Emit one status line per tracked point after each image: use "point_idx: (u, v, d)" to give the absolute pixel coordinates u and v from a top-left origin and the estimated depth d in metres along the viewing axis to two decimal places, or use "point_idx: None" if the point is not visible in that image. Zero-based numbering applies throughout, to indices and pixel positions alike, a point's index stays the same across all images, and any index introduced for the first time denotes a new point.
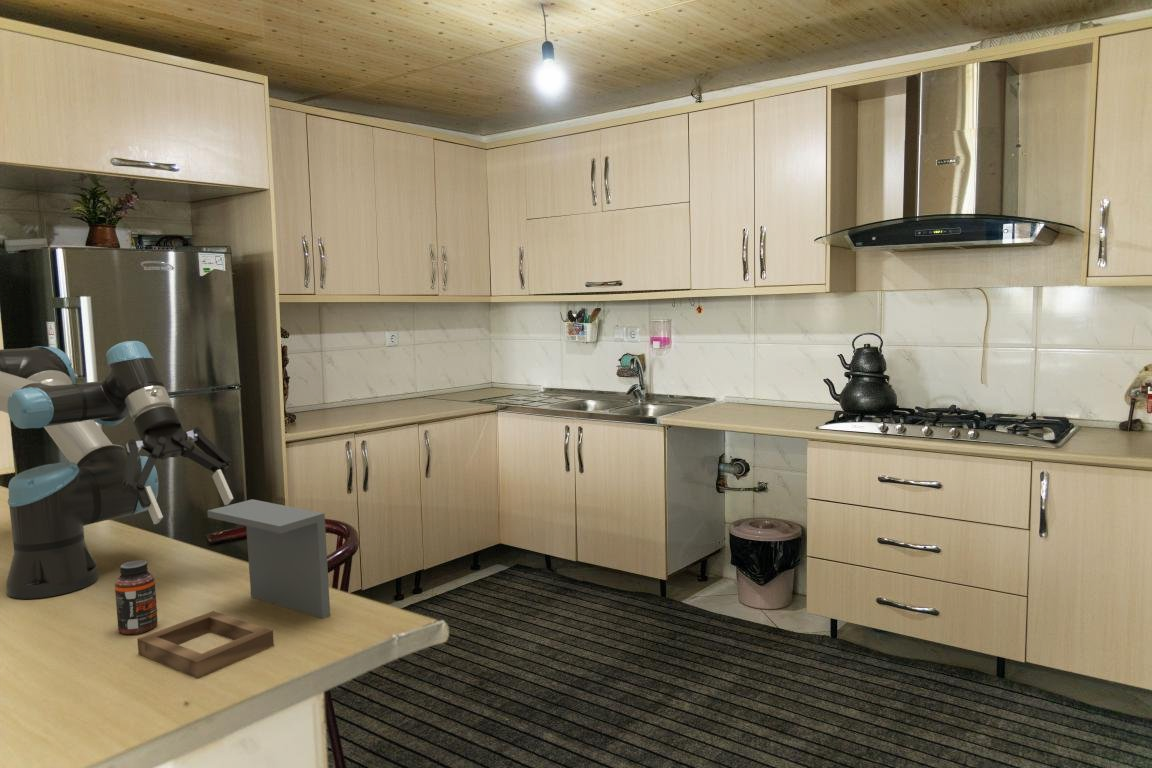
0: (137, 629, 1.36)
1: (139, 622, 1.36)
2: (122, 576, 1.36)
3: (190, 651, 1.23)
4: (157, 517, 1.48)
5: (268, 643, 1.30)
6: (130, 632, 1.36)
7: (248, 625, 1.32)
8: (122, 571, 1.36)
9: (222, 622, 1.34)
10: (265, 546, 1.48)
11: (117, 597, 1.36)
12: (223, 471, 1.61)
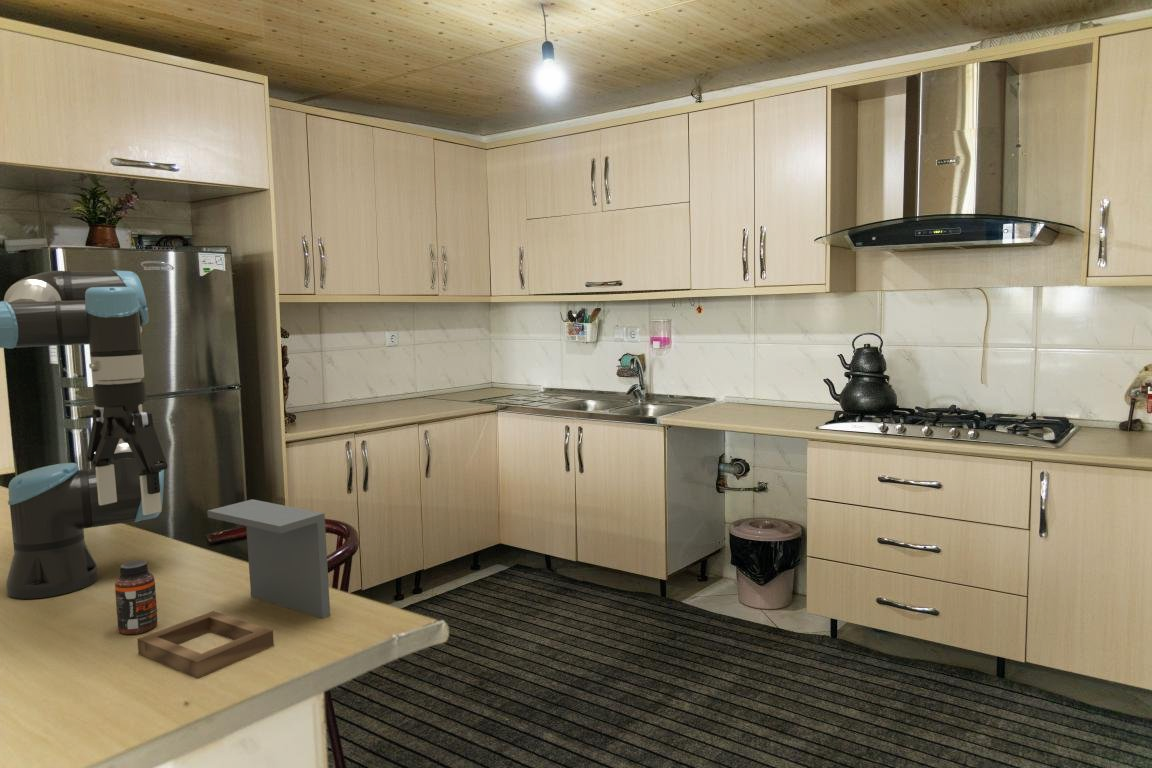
0: (137, 629, 1.36)
1: (139, 622, 1.36)
2: (122, 576, 1.36)
3: (190, 651, 1.23)
4: None
5: (268, 643, 1.30)
6: (130, 632, 1.36)
7: (248, 625, 1.32)
8: (122, 571, 1.36)
9: (222, 622, 1.34)
10: (265, 546, 1.48)
11: (117, 597, 1.36)
12: (148, 477, 1.31)
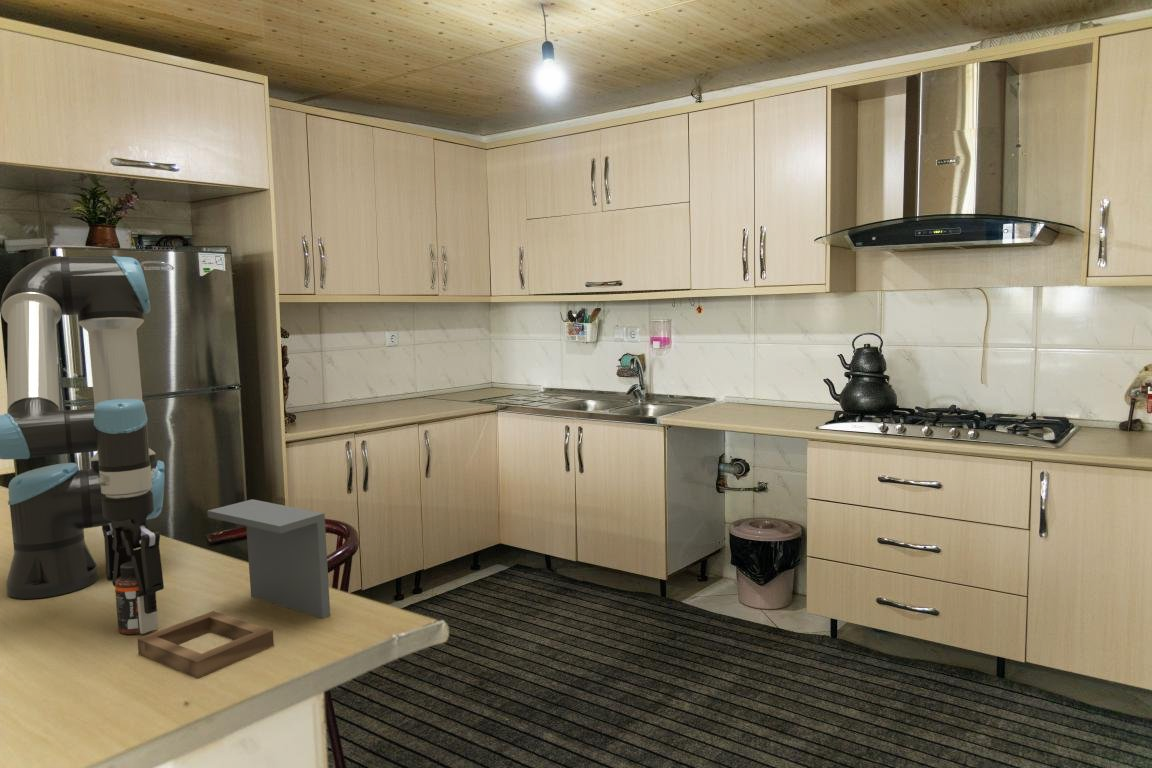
0: (137, 629, 1.36)
1: None
2: (122, 576, 1.36)
3: (190, 651, 1.23)
4: None
5: (268, 643, 1.30)
6: (130, 632, 1.36)
7: (248, 625, 1.32)
8: (123, 571, 1.36)
9: (222, 622, 1.34)
10: (265, 546, 1.48)
11: (117, 597, 1.36)
12: (145, 597, 1.35)
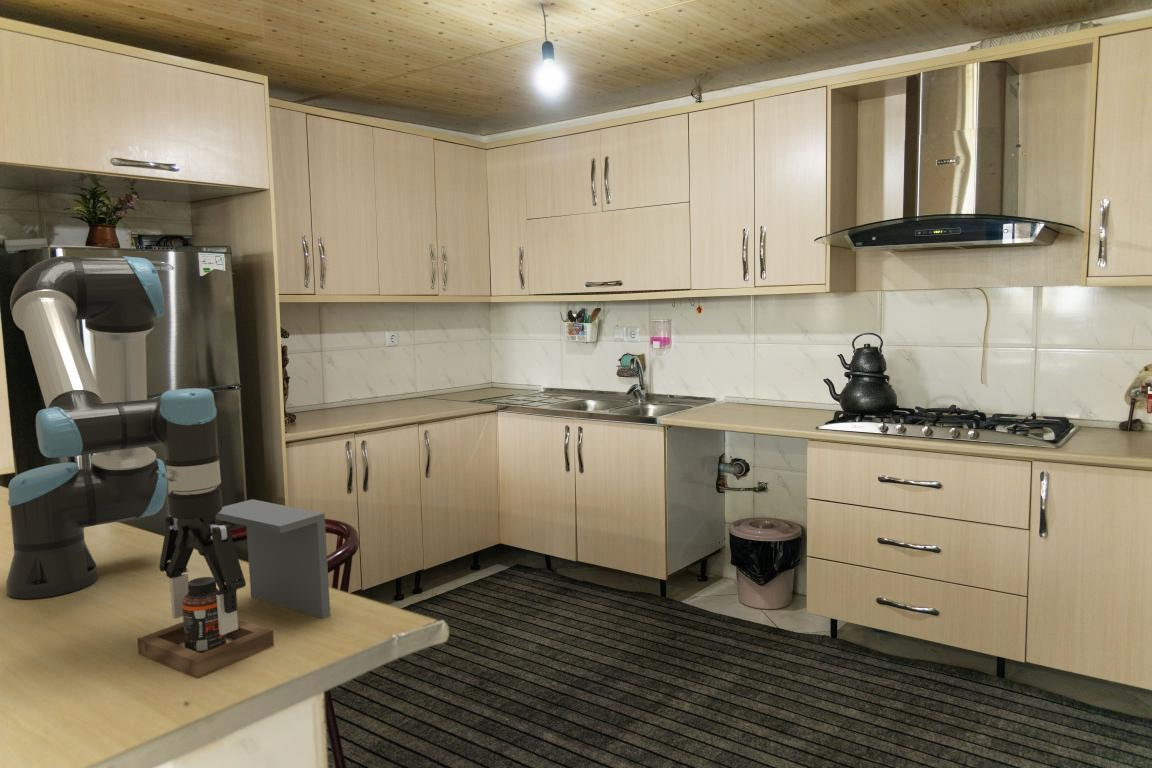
0: (206, 651, 1.27)
1: (208, 643, 1.27)
2: (190, 594, 1.27)
3: (190, 651, 1.23)
4: None
5: (268, 643, 1.30)
6: None
7: (248, 625, 1.32)
8: (191, 588, 1.27)
9: None
10: (265, 546, 1.48)
11: (185, 616, 1.27)
12: (226, 595, 1.24)
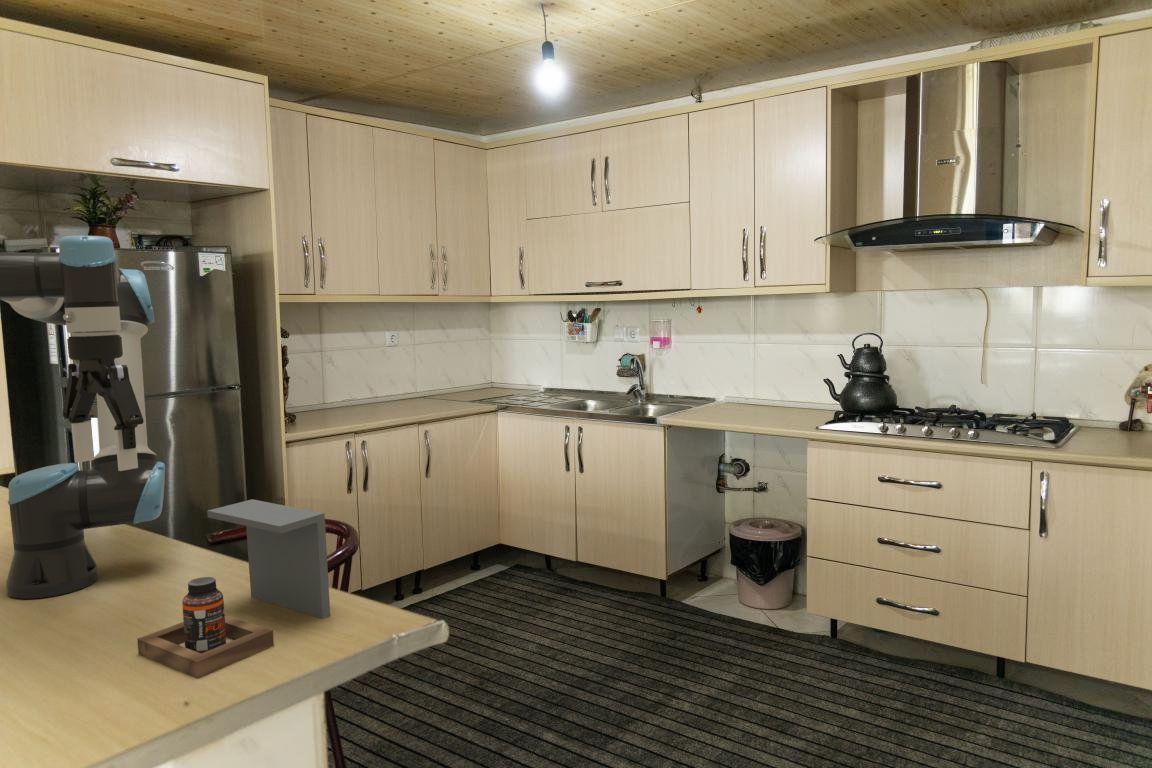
0: (206, 651, 1.27)
1: (208, 643, 1.27)
2: (190, 594, 1.27)
3: (190, 651, 1.23)
4: None
5: (268, 643, 1.30)
6: None
7: (248, 625, 1.32)
8: (191, 588, 1.27)
9: None
10: (265, 546, 1.48)
11: (185, 616, 1.27)
12: (124, 431, 1.27)
